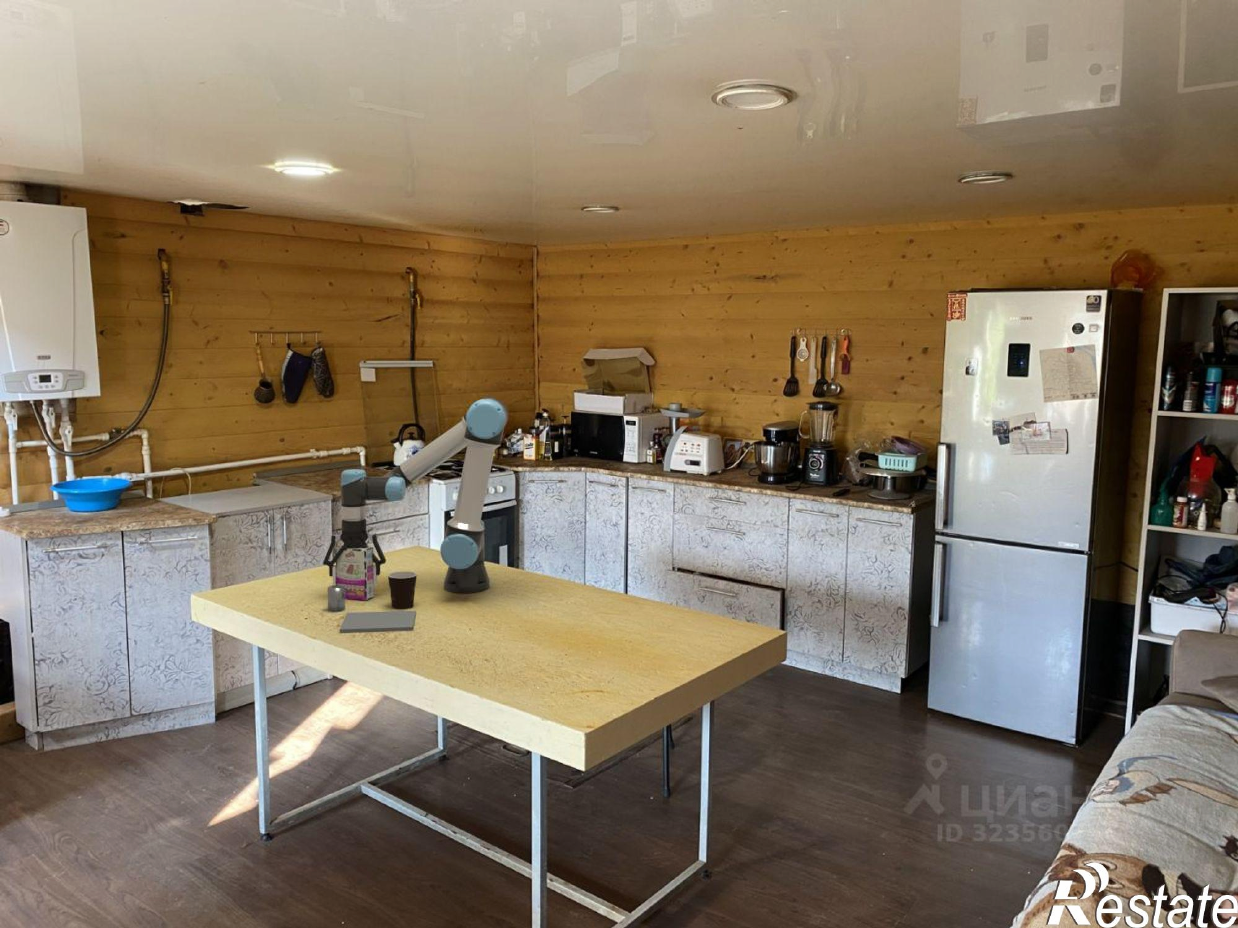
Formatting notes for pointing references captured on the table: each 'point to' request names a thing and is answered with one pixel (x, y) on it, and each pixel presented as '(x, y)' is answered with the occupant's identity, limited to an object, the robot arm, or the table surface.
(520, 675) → the table surface
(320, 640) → the table surface
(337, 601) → the metal canister
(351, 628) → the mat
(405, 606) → the coffee mug
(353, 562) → the candy bar box
